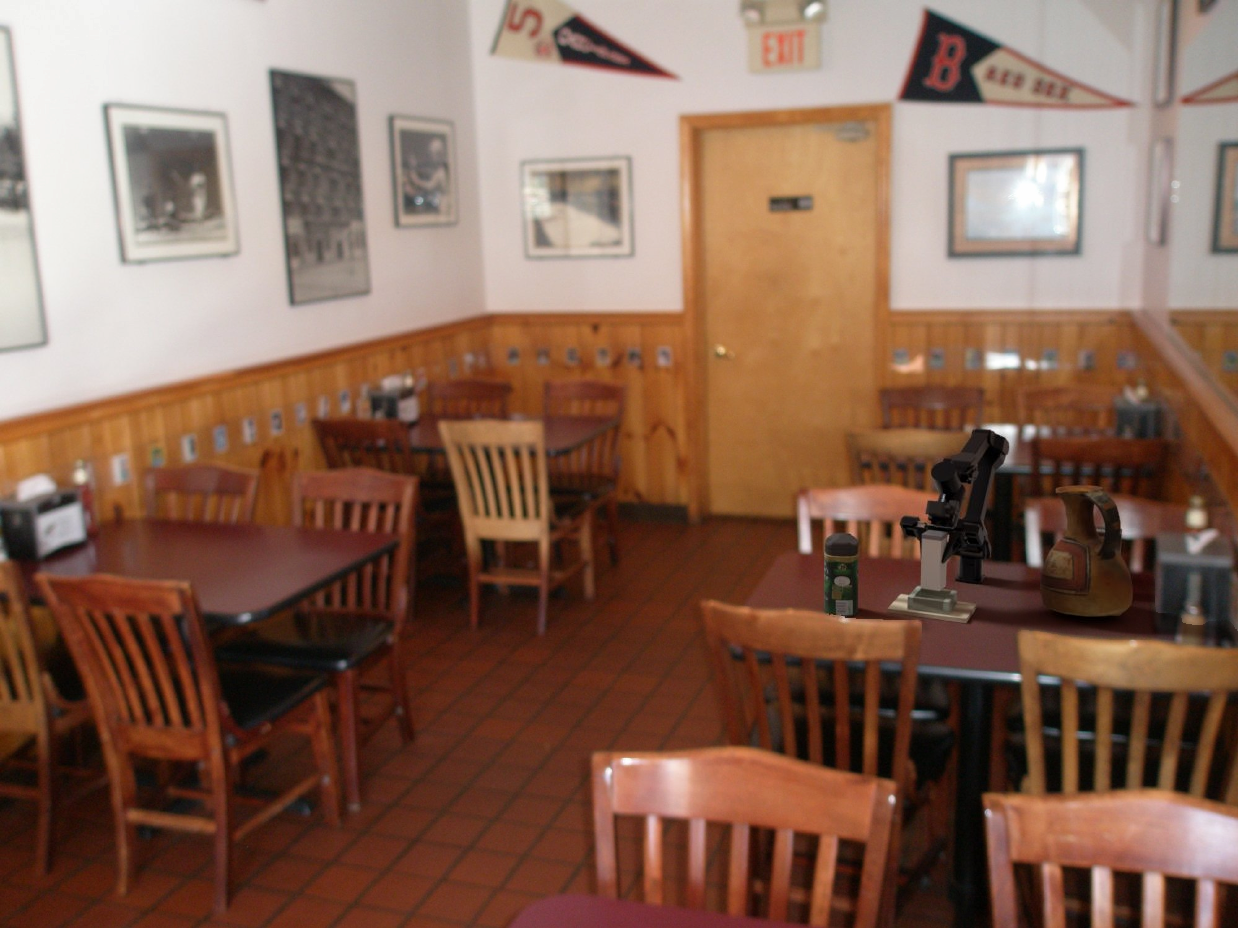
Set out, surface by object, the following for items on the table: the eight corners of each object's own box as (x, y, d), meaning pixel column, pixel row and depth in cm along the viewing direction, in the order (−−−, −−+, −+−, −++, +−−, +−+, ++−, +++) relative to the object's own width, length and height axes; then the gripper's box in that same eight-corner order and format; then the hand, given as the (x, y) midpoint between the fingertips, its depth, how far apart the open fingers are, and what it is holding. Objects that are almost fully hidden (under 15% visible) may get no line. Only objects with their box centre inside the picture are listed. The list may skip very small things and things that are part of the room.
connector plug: (927, 582, 270) (928, 529, 267) (946, 585, 267) (948, 532, 264) (920, 588, 266) (921, 534, 263) (939, 591, 263) (941, 536, 261)
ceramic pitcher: (1079, 594, 276) (1086, 474, 270) (1151, 618, 258) (1160, 489, 252) (1020, 608, 267) (1025, 484, 261) (1090, 633, 250) (1098, 501, 244)
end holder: (900, 597, 277) (901, 582, 276) (976, 607, 269) (977, 591, 268) (887, 612, 267) (887, 596, 266) (966, 623, 258) (966, 606, 257)
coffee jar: (824, 604, 273) (825, 529, 270) (857, 606, 272) (859, 530, 268) (822, 618, 264) (823, 540, 260) (857, 619, 262) (859, 541, 259)
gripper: (903, 482, 270) (884, 538, 263) (982, 490, 260) (965, 549, 253) (914, 507, 278) (896, 562, 271) (991, 516, 268) (974, 573, 261)
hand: (932, 561), depth 264 cm, fingers closed on connector plug, 4 cm apart
